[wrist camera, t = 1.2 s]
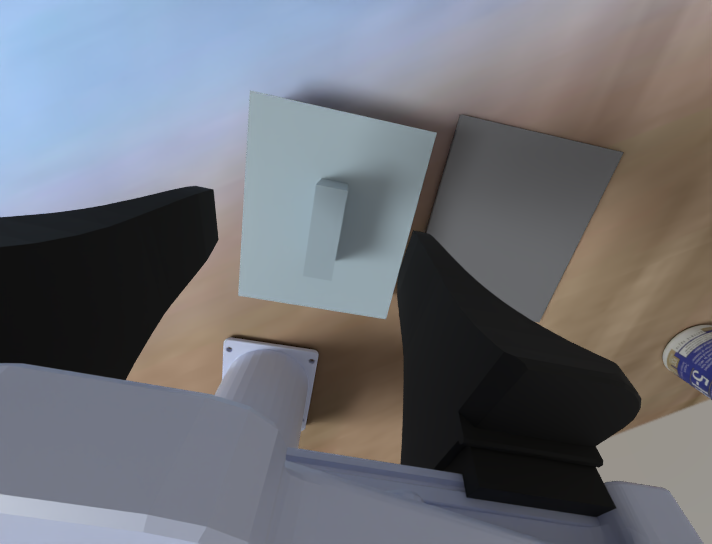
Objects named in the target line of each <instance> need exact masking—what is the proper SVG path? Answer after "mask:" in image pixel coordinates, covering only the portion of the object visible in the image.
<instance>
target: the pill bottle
mask: <svg viewBox="0 0 712 544" xmlns="http://www.w3.org/2000/svg"><path fill="white" fill-rule="evenodd" d="M663 362H664V365H665V366H666V367H667V369H669V370H670V371H671V372H673V373H674V374H676V375H677V376H678V377H680V378H681V379H683V380H684V381H686V382H687V383H689V384H690V385H691V386H693V387H694V388H696V389H697V390H699V391H700V392H701V393H703V394H704V395H706V396H707V397H709V398H710V399H711V400H712V325H699V326H694V327H691V328H688V329H686V330H684V331H682V332H681V333H679V334H678V335H676V336H675V337H674V338H673V339H672V340H671V341H670V342H669V343H668V344H667V346H666V348H665V349H664V352H663Z"/></svg>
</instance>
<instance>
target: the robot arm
mask: <svg viewBox="0 0 712 544" xmlns="http://www.w3.org/2000/svg"><path fill="white" fill-rule="evenodd" d="M217 241H218V230H217V220H216V210H215V201H214V191H213V189H208V188H203V187H198V186H190V187H184V188H179V189H174V190H169V191H165V192H161V193H157V194H153V195H149V196H144V197H140V198H136V199H131V200H127V201H122V202H117V203H112V204H108V205H103V206H97V207H92V208H86V209H79V210H72V211H65V212H57V213H48V214H36V215H25V216H13V217H0V544H704V543H703V542H702V540H701V539H700V537H699V536H698V534H697V533H696V531H695V529H694V528H693V526H692V525H691V523H690V522H689V520H688V519H687V517H686V516H685V514H684V513H683V511H682V510H681V508H680V507H679V505H678V504H677V502H676V500H675V499H674V497H673V496H672V495H671V493H670V491H668V490H667V489H665V488H662V487H655V486H649V485H643V484H637V483H630V482H623V481H612V482H605V483H603V481H602V479H601V477H600V475H599V473H598V471H597V469H596V467H600V466H602V465H603V459H602V458H601V456H600V454H599V452H598V450H597V448H596V445H598V444H600V443H601V442H603V441H604V440H606V439H607V438H609V437H610V436H612V435H613V434H615V433H616V432H618V431H619V430H621V429H623V428H624V427H625V426H626V425H628V424H629V423H630V422H631V421H633V420H634V418H635V417H636V415H637V413H638V412H639V410H640V408H641V397H640V396H639V394H638V392H637V391H636V389H635V388H634V387H633V385H632V384H631V383H630V381H629V380H628V378H627V377H626V376H625V374H624V373H623V372H622V370H621V369H620V368H619V366H618V365H617V364H616V363H614V362H612V361H610V360H608V359H606V358H603V357H601V356H599V355H597V354H595V353H593V352H591V351H589V350H587V349H584V348H582V347H580V346H578V345H576V344H574V343H572V342H570V341H568V340H566V339H564V338H562V337H560V336H559V335H557V334H555V333H553V332H551V331H549V330H548V329H546V328H544V327H542V326H541V325H539V324H537V323H535V322H534V321H532V320H530V319H529V318H527V317H526V316H524V315H523V314H521V313H520V312H518V311H516V310H515V309H513V308H512V307H510V306H509V305H508V304H506V303H505V302H503V301H502V300H500V299H499V298H498V297H497V296H495V295H494V294H493V293H491V292H490V291H489V290H488V289H486V288H485V287H484V286H483V285H481V284H480V283H479V282H478V281H477V280H476V279H475V278H474V277H472V276H471V275H470V274H469V273H468V272H467V271H466V270H465V269H464V268H463V267H462V266H461V265H460V264H459V263H458V262H457V261H456V260H455V259H454V258H453V257H452V256H451V255H450V254H449V253H448V252H447V251H446V250H445V248H444V247H443V246H442V245H441V244H440V243H439V242H438V241H437V240H436V239H435V238H434V237H433V236H432V235H431V234H428V233H423V232H418V231H413V233H412V236H411V239H410V242H409V245H408V247H407V250H406V253H405V256H404V259H403V262H402V265H401V267H400V270H399V273H398V287H397V298H398V308H399V317H400V325H401V334H402V343H403V355H404V393H403V428H402V449H401V465H400V464H394V463H387V462H381V461H374V460H368V459H362V458H355V457H349V456H342V455H336V454H330V453H323V452H317V451H310V450H304V449H298V445H299V439H300V433H301V431H302V430H304V429H305V426H306V421H307V415H308V410H309V405H310V399H311V394H312V388H313V383H314V378H315V372H316V367H317V361H318V356H319V354H318V352H317V351H316V350H313V349H306V348H299V347H293V346H286V345H279V344H272V343H266V342H259V341H252V340H245V339H238V338H232V337H229V338H227V339H226V340H225V341H224V346H223V373H222V382H221V384H220V386H219V388H218V389H217V391H216V393H215V395H212V394H206V393H200V392H194V391H188V390H182V389H176V388H170V387H163V386H157V385H151V384H145V383H139V382H133V381H127V380H126V378H127V376H128V374H129V373H130V371H131V369H132V367H133V365H134V363H135V362H136V360H137V358H138V356H139V355H140V353H141V351H142V350H143V348H144V346H145V344H146V343H147V341H148V339H149V338H150V336H151V334H152V333H153V331H154V330H155V328H156V326H157V325H158V323H159V322H160V320H161V318H162V317H163V315H164V314H165V312H166V311H167V310H168V308H169V307H170V306H171V304H172V303H173V302H174V301H175V299H176V298H177V297H178V296H179V294H180V293H181V292H182V291H183V290H184V288H185V287H186V286H187V285H188V283H189V282H190V281H191V280H192V278H193V277H194V276H195V275H196V274H197V272H198V271H199V270H200V268H201V267H202V266H203V265H204V263H205V262H206V261H207V259H208V258H209V256H210V254H211V252H212V251H213V249H214V247H215V245H216V243H217ZM228 347H231V348H232V349H229V348H228ZM310 359H313V360H314V361H311V360H310Z"/></svg>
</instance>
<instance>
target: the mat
mask: <svg viewBox="0 0 712 544" xmlns="http://www.w3.org/2000/svg"><path fill="white" fill-rule="evenodd" d="M623 153H624V152H619V151H615V150H611V149H607V148H602V147H598V146H594V145H590V144H585V143H581V142H577V141H572V140H568V139H564V138H560V137H555V136H551V135H547V134H543V133H538V132H534V131H530V130H525V129H521V128H517V127H513V126H508V125H504V124H500V123H496V122H491V121H487V120H483V119H478V118H474V117H470V116H466V115H460V117H459V120H458V124H457V127H456V130H455V134H454V137H453V141H452V144H451V147H450V151H449V154H448V158H447V161H446V164H445V168H444V171H443V175H442V178H441V181H440V185H439V188H438V192H437V195H436V198H435V202H434V205H433V209H432V212H431V215H430V219H429V222H428V226H427V229H426V233H428V234H431V235H432V236H433V237H434V238H435V239H436V240H437V241H438V242H439V243H440V244H441V245H442V246H443V247H444V248H445V250H446V251H447V252H448V253H449V254H450V255H451V256H452V257H453V258H454V259H455V260H456V261H457V262H458V263H459V264H460V265H461V266H462V267H463V268H464V269H465V270H466V271H467V272H468V273H469V274H470V275H471V276H472V277H474V278H475V279H476V280H477V281H478V282H479V283H480V284H481V285H483V286H484V287H485V288H486V289H488V290H489V291H490V292H491V293H493V294H494V295H495V296H497V297H498V298H499V299H500V300H502V301H503V302H505V303H506V304H508V305H509V306H510V307H512V308H513V309H515V310H516V311H518V312H520V313H521V314H523V315H524V316H526V317H527V318H529V319H530V320H532V321H535V322H539V321H540V319H541V317H542V315H543V313H544V311H545V309H546V307H547V305H548V303H549V301H550V299H551V297H552V295H553V293H554V291H555V289H556V287H557V285H558V283H559V281H560V279H561V277H562V275H563V273H564V271H565V269H566V267H567V265H568V263H569V261H570V259H571V257H572V255H573V253H574V251H575V249H576V247H577V245H578V243H579V241H580V239H581V237H582V235H583V233H584V231H585V229H586V227H587V225H588V223H589V221H590V219H591V217H592V215H593V213H594V211H595V209H596V207H597V205H598V203H599V201H600V199H601V197H602V195H603V193H604V191H605V189H606V187H607V185H608V183H609V181H610V179H611V177H612V175H613V173H614V171H615V169H616V167H617V165H618V163H619V161H620V159H621V157H622V155H623Z"/></svg>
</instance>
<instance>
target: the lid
mask: <svg viewBox="0 0 712 544" xmlns="http://www.w3.org/2000/svg"><path fill="white" fill-rule="evenodd" d="M436 134H437V133H436V132H431V131H427V130H422V129H418V128H414V127H409V126H405V125H400V124H396V123H391V122H387V121H383V120H378V119H374V118H369V117H365V116H361V115H356V114H352V113H347V112H343V111H338V110H334V109H330V108H325V107H321V106H316V105H312V104H307V103H303V102H299V101H294V100H290V99H285V98H281V97H276V96H272V95H268V94H263V93H259V92H254V91H250V99H249V117H248V134H247V152H246V170H245V188H244V206H243V223H242V241H241V259H240V277H239V296H245V297H251V298H257V299H263V300H270V301H276V302H282V303H288V304H295V305H301V306H307V307H313V308H319V309H326V310H332V311H338V312H344V313H351V314H357V315H363V316H369V317H375V318H382V319H386V317H387V313H388V309H389V306H390V302H391V298H392V295H393V291H394V287H395V284H396V280H397V277H398V273H399V269H400V266H401V262H402V258H403V255H404V251H405V247H406V244H407V240H408V236H409V233H410V229H411V225H412V222H413V218H414V214H415V211H416V207H417V203H418V200H419V196H420V192H421V189H422V185H423V181H424V178H425V174H426V170H427V167H428V163H429V159H430V156H431V152H432V148H433V145H434V141H435V137H436Z"/></svg>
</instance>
